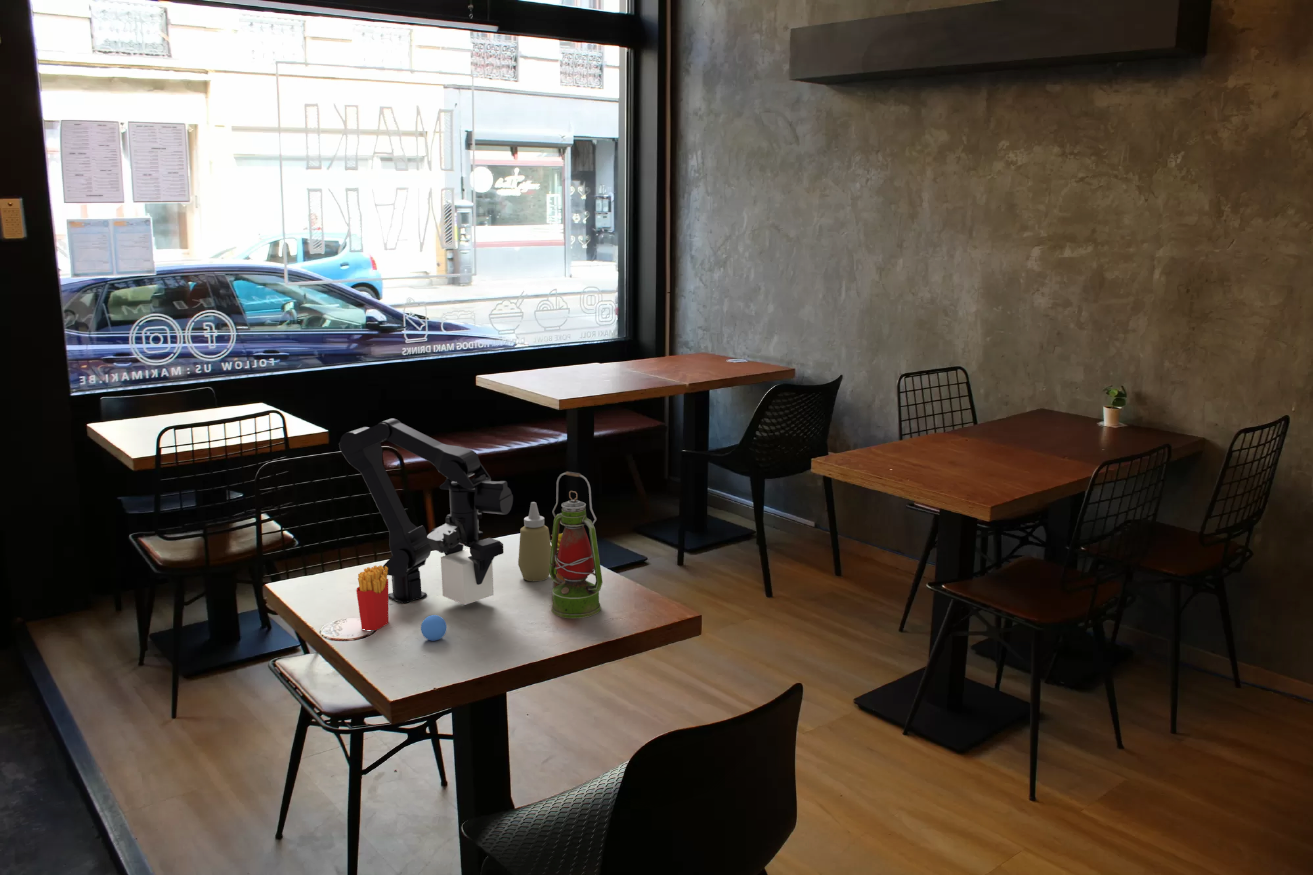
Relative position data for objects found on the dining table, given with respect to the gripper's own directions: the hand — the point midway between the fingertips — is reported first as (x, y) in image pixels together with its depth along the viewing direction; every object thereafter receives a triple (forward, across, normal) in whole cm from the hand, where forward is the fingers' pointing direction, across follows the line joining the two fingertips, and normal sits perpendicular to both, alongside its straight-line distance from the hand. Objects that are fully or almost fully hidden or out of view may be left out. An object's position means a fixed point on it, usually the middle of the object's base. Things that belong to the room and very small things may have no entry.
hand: (467, 579), depth 227 cm
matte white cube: (+4, 0, 0) cm, 4 cm away
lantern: (+6, +19, +14) cm, 24 cm away
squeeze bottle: (+6, -2, +21) cm, 22 cm away
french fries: (+6, -6, -20) cm, 21 cm away
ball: (+3, +10, -16) cm, 19 cm away
